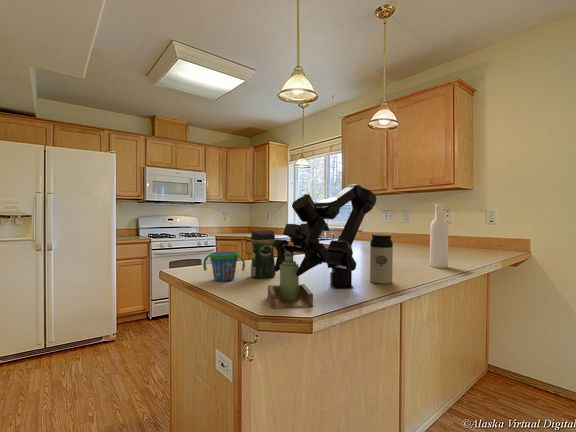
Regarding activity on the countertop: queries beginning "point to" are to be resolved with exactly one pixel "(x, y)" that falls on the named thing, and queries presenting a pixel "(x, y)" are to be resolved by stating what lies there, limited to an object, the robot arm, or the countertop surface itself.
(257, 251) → the coffee jar
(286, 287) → the bottle
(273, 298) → the wooden serving tray
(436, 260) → the bottle
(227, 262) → the snack cup
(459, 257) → the countertop surface
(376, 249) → the travel mug
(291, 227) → the robot arm
